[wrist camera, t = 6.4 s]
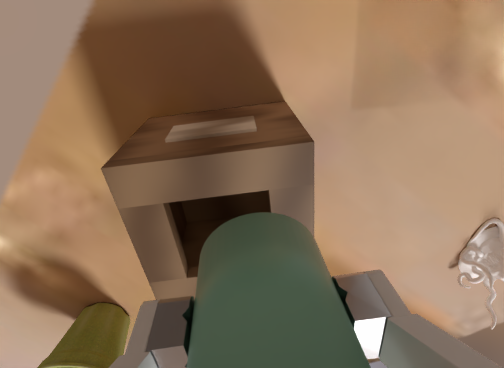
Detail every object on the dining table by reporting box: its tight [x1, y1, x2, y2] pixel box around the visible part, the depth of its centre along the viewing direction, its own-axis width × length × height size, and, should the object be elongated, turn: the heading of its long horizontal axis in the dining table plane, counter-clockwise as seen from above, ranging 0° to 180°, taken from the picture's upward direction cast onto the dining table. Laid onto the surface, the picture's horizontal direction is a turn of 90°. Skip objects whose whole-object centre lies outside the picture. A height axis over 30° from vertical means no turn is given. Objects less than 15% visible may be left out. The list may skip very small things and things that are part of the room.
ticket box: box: [101, 101, 314, 300], centre depth 23 cm, size 12×12×10 cm
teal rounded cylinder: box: [187, 212, 370, 368], centre depth 8 cm, size 4×4×5 cm
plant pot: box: [38, 303, 130, 368], centre depth 33 cm, size 9×9×9 cm
